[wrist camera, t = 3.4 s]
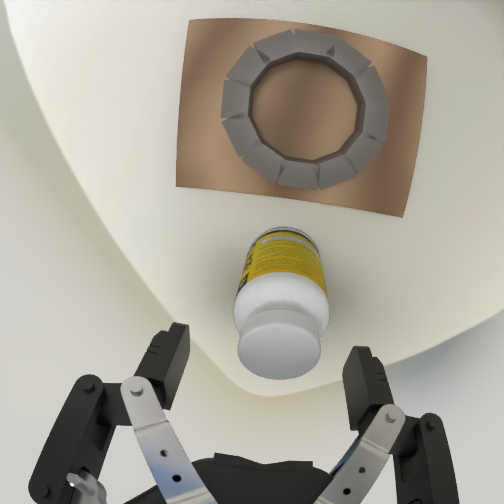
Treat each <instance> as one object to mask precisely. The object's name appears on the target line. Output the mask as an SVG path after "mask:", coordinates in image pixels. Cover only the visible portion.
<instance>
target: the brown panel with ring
mask: <svg viewBox="0 0 504 504" xmlns="http://www.w3.org/2000/svg"><path fill="white" fill-rule="evenodd" d="M426 74H427V57H426V56H424V55H421V54H419V53H416V52H414V51H411V50H408V49H406V48H403V47H400V46H397V45H394V44H391V43H388V42H385V41H381V40H378V39H375V38H371V37H368V36H364V35H360V34H356V33H352V32H348V31H343V30H339V29H334V28H329V27H323V26H317V25H311V24H305V23H297V22H289V21H279V20H266V19H246V18H216V19H196V20H189V24H188V31H187V38H186V46H185V54H184V63H183V72H182V82H181V93H180V105H179V119H178V136H177V160H176V187H189V188H200V189H211V190H222V191H231V192H241V193H249V194H258V195H266V196H274V197H282V198H289V199H296V200H303V201H310V202H317V203H323V204H330V205H336V206H342V207H348V208H354V209H359V210H365V211H370V212H376V213H381V214H386V215H391V216H397V217H401V218H403V215H404V211H405V207H406V203H407V199H408V195H409V191H410V186H411V182H412V177H413V172H414V167H415V162H416V156H417V151H418V145H419V139H420V132H421V125H422V117H423V109H424V99H425V88H426Z"/></svg>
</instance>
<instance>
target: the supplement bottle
mask: <svg viewBox="0 0 504 504" xmlns="http://www.w3.org/2000/svg"><path fill="white" fill-rule="evenodd" d="M233 318H234V323H235V326H236V328H237V330H238V332H239V333H240V339H239V344H238V356H239V359H240V361H241V363H242V364H243V365H244V366H245V367H246V368H247V369H248V370H249V371H251V372H252V373H254V374H256V375H258V376H261V377H264V378H268V379H275V380H284V379H291V378H295V377H299V376H301V375H303V374H305V373H307V372H308V371H310V370H311V369H312V368H313V367H314V366H315V365H316V364H317V362H318V360H319V358H320V354H321V345H320V337H321V336H322V335H323V333H324V332H325V330H326V328H327V325H328V322H329V304H328V297H327V292H326V286H325V281H324V276H323V271H322V266H321V261H320V256H319V253H318V250H317V248H316V246H315V244H314V242H313V241H312V240H311V239H310V238H309V237H308V236H307V235H305V234H304V233H302V232H300V231H298V230H295V229H292V228H276V229H272V230H269V231H266V232H265V233H263V234H261V235H260V236H259V237H258V238H257V239H256V240H255V241H254V242H253V244H252V245H251V247H250V250H249V252H248V255H247V258H246V263H245V266H244V270H243V274H242V277H241V281H240V285H239V288H238V292H237V295H236V299H235V303H234V309H233Z"/></svg>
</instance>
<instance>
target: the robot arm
mask: <svg viewBox="0 0 504 504" xmlns="http://www.w3.org/2000/svg"><path fill="white" fill-rule="evenodd" d="M189 353H190V335H189V325H186V324H181V323H176V322H173V323H172V325H171V327H170V329H169V331H168V332H167V331H162V330H161V331H160V332H159V333H158V334H156V335H155V336H154V337H153V339H152V341H151V343H150V346H149V347H148V349H147V352H146V353H145V355H144V357H143V359H142V361H141V362H140V364H139V367H138V369H137V370H136V372H135V374H134V376H133V377H130V378H128V379H126V380H125V381H124V382H123V383H102V381H101V379H100V378H99V377H97V376H95V375H84V376H82V377H80V378H79V379H78V380H77V381H76V382H75V384H74V386H73V388H72V390H71V392H70V394H69V396H68V398H67V400H66V402H65V403H64V405H63V407H62V409H61V411H60V413H59V415H58V417H57V419H56V421H55V423H54V426H53V428H52V430H51V432H50V434H49V437H48V438H47V441H46V443H45V445H44V447H43V450H42V452H41V454H40V457H39V459H38V461H37V464H36V466H35V469H34V471H33V474H32V476H31V479H30V481H29V485H28V489H29V493H30V496H31V498H32V499H33V500H34V501H35V502H36V503H37V504H107V503H106V490H105V488H104V486H103V485H102V484H101V483H100V482H99V481H98V478H99V475H100V472H101V469H102V466H103V463H104V459H105V457H106V453H107V451H108V448H109V445H110V442H111V439H112V436H113V434H114V431H115V428H116V425H122V426H133V428H134V433H135V436H136V438H137V441H138V443H139V446H140V448H141V450H142V453H143V455H144V457H145V460H146V462H147V464H148V466H149V468H150V471H151V473H152V475H153V477H154V479H155V481H156V483H157V485H155V486H153V487H152V488H150V489H148V490H147V491H145V492H143V493H142V494H140V495H138V496H137V497H135V498H133V499H131V500H129V501H127V502H126V503H124V504H360V503H361V502H362V500H363V499H364V497H365V496H366V495H367V493H368V492H369V490H370V488H371V487H372V486H373V484H374V482H375V481H376V479H377V478H378V476H379V474H380V473H381V471H382V469H383V468H384V466H385V464H386V462H387V461H388V459H389V457H390V454H393V461H394V469H395V480H396V492H397V504H459V497H458V491H457V484H456V479H455V473H454V468H453V463H452V458H451V454H450V449H449V445H448V441H447V437H446V433H445V429H444V426H443V422H442V420H441V419H440V417H439V416H437V415H436V414H433V413H426V414H424V415H423V416H422V417H421V418H415V417H410V416H406V415H405V414H404V412H403V411H402V409H401V408H400V407H398V406H396V405H395V404H394V401H393V397H392V394H391V390H390V387H389V383H388V381H387V377H386V374H385V370H384V367H383V364H382V363H381V362H380V360H379V359H378V358H377V357H372V354H371V350H370V348H369V347H367V346H354V347H353V348H352V350H351V352H350V354H349V357H348V359H347V361H346V363H345V365H344V368H343V374H342V376H343V383H344V389H345V395H346V402H347V409H348V415H349V423H350V430H352V431H354V430H358V432H359V435H358V437H357V438H356V439H355V441H354V442H353V444H352V445H351V446H350V448H349V449H348V451H347V452H346V453H345V455H344V456H343V457H342V459H341V460H340V461H339V462H338V464H337V465H336V466H335V467H334V468H333V470H332V471H331V472H330V473H329V474H328V473H327V472H325V471H323V470H321V469H318V468H315V467H313V462H312V461H285V462H279V463H272V464H260V463H257V462H254V461H251V460H248V459H245V458H242V457H239V456H233V455H227V454H220V453H215V454H214V458H205V459H200V460H197V461H194V462H190V460H189V458H188V456H187V454H186V453H185V451H184V449H183V447H182V445H181V443H180V441H179V440H178V438H177V436H176V434H175V432H174V430H173V428H172V426H171V424H170V422H169V421H168V420H167V419H166V417H165V414H164V412H163V409H166V410H170V409H171V406H172V403H173V400H174V397H175V395H176V392H177V389H178V386H179V383H180V380H181V377H182V375H183V372H184V369H185V366H186V363H187V361H188V358H189Z"/></svg>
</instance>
